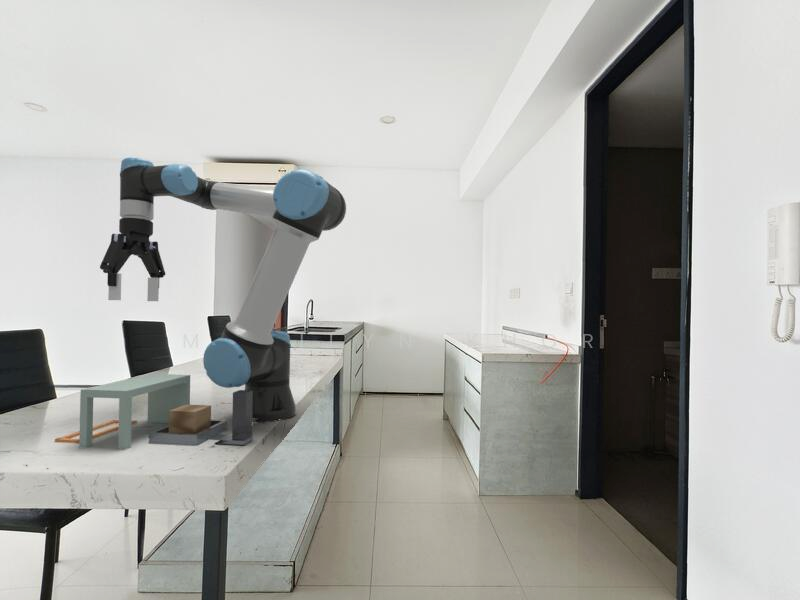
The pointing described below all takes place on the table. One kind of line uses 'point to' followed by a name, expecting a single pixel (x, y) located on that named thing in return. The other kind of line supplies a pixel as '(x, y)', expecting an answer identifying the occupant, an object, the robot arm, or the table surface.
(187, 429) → the walnut block
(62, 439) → the orange rails
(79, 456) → the table surface
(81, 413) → the tunnel
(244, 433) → the slider
